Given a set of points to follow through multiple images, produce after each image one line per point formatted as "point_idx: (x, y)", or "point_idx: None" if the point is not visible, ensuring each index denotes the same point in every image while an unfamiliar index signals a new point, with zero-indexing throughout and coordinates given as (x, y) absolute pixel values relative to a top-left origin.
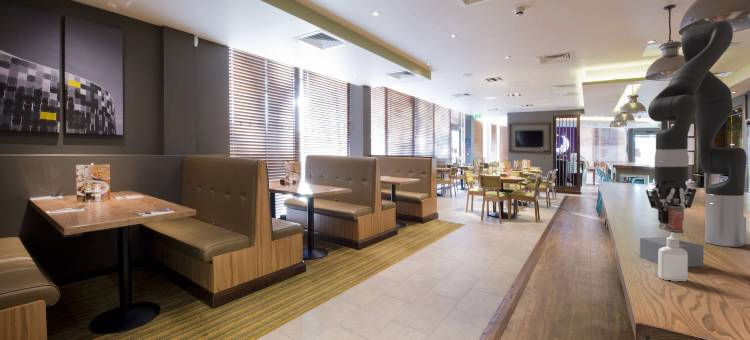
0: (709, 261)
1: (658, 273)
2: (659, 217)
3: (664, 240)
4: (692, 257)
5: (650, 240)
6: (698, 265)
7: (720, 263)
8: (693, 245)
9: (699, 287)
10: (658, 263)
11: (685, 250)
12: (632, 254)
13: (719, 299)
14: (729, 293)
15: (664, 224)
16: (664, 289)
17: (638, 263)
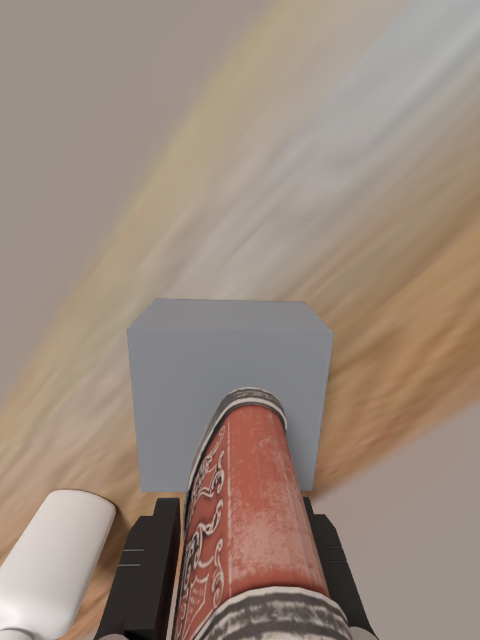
0: (371, 385)
1: (41, 505)
2: (123, 562)
3: (219, 397)
4: None
5: (143, 386)
6: None
7: (381, 408)
8: None
9: (106, 551)
10: (20, 537)
11: (61, 636)
12: (155, 252)
13: (89, 601)
14: None
15: (194, 490)
16: (4, 554)
17: (87, 369)
